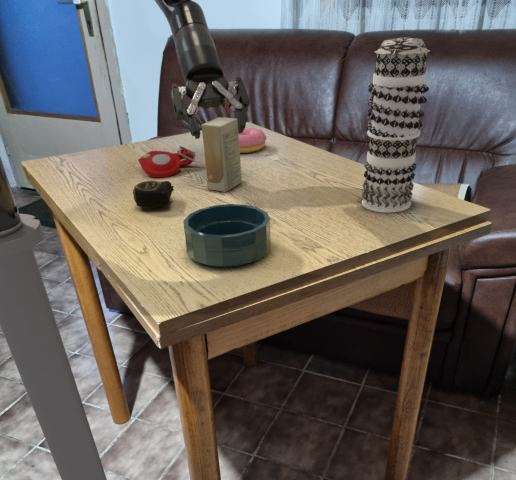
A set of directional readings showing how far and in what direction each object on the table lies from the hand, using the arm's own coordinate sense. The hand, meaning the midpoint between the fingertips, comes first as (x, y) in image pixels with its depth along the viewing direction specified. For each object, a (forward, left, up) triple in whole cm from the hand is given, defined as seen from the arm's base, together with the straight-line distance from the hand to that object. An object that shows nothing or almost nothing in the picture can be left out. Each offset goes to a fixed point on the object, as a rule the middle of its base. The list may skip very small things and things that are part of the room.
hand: (220, 133), depth 96 cm
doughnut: (+7, +27, -10) cm, 29 cm away
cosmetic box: (0, 0, -10) cm, 10 cm away
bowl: (-2, -30, -10) cm, 32 cm away
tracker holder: (-11, +14, -10) cm, 20 cm away
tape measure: (-13, -7, -10) cm, 18 cm away
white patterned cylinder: (+27, -17, -10) cm, 34 cm away
